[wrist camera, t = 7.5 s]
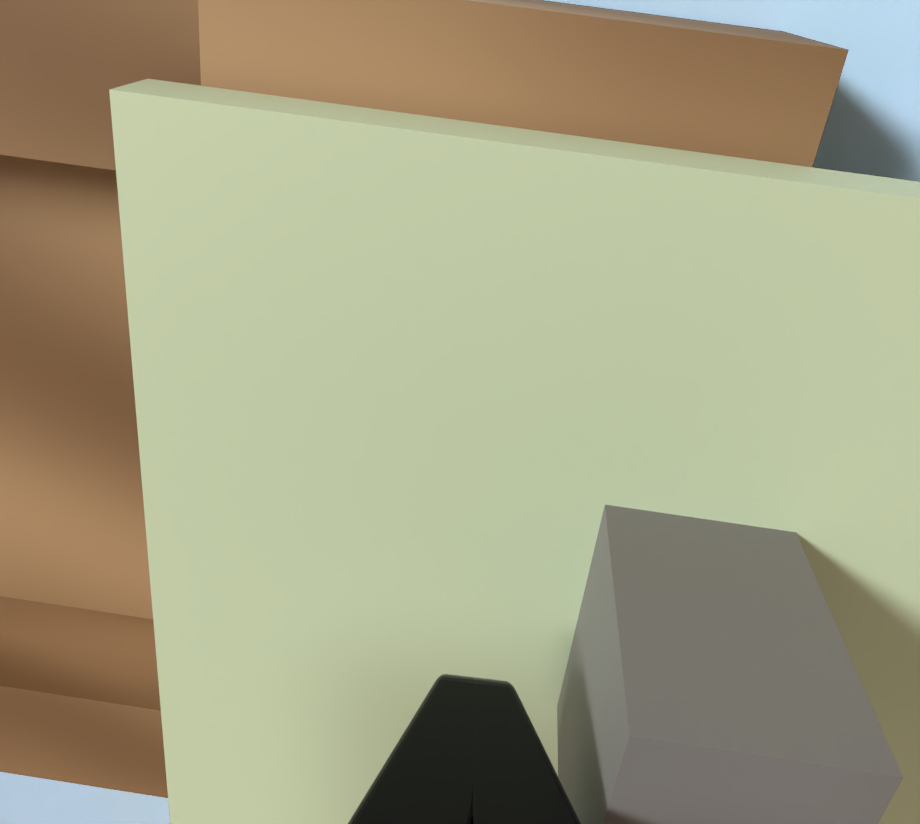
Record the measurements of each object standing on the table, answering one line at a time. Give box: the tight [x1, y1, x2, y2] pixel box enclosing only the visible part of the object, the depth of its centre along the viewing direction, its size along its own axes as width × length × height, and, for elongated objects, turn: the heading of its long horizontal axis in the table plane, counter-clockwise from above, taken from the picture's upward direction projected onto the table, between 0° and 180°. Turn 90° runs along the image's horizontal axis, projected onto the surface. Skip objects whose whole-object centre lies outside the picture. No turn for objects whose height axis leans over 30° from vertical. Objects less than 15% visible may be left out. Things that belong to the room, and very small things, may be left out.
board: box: [0, 0, 848, 798], centre depth 12 cm, size 12×18×2 cm, turn 84°
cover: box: [109, 79, 920, 824], centre depth 9 cm, size 10×12×4 cm
